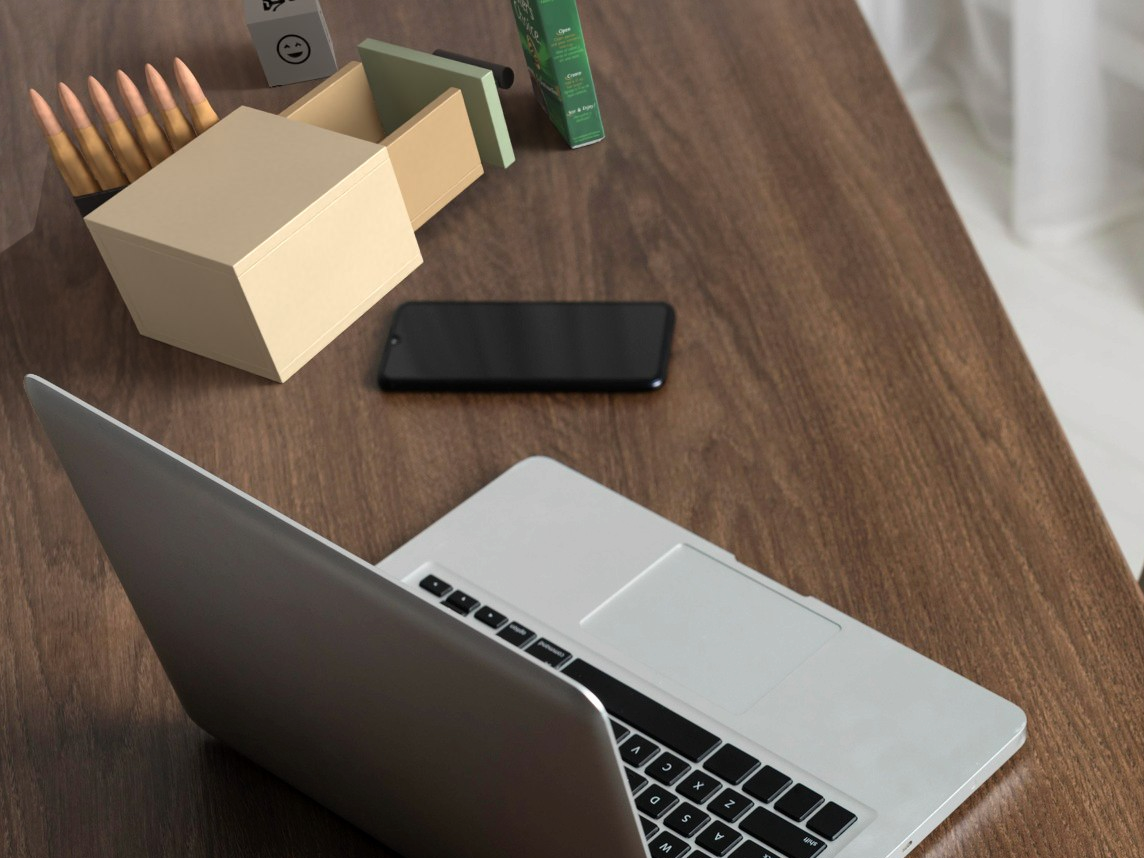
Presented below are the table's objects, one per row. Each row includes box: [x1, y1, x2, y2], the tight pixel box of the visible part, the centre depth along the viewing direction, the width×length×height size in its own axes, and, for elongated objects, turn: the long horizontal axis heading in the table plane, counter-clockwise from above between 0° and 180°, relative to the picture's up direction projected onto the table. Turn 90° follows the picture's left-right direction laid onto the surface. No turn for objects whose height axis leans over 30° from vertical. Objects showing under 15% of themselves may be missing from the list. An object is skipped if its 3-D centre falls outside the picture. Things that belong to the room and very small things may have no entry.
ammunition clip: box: [28, 56, 221, 267], centre depth 110 cm, size 11×2×12 cm, turn 105°
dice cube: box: [242, 0, 339, 87], centre depth 127 cm, size 5×5×5 cm
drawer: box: [277, 37, 516, 233], centre depth 115 cm, size 17×10×7 cm, turn 154°
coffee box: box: [509, 0, 606, 149], centre depth 119 cm, size 8×3×13 cm, turn 29°
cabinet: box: [82, 104, 424, 384], centre depth 107 cm, size 14×12×9 cm
